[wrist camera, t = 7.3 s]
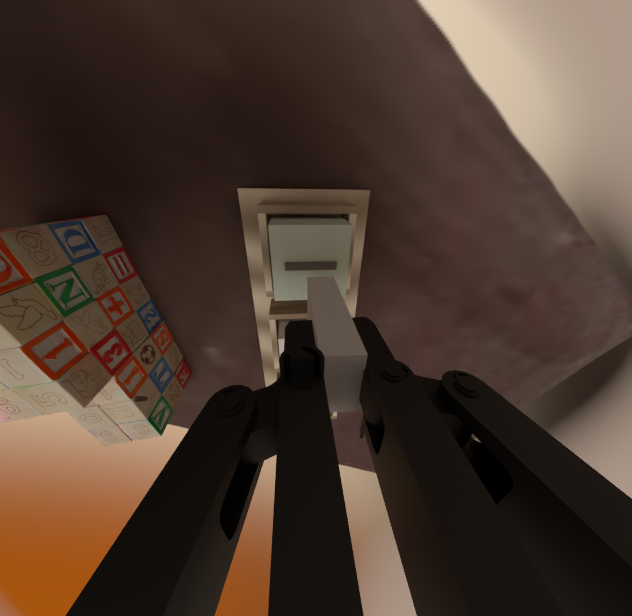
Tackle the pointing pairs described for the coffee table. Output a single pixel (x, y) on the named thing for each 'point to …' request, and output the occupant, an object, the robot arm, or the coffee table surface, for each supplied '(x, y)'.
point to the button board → (255, 220)
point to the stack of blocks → (83, 333)
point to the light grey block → (308, 253)
